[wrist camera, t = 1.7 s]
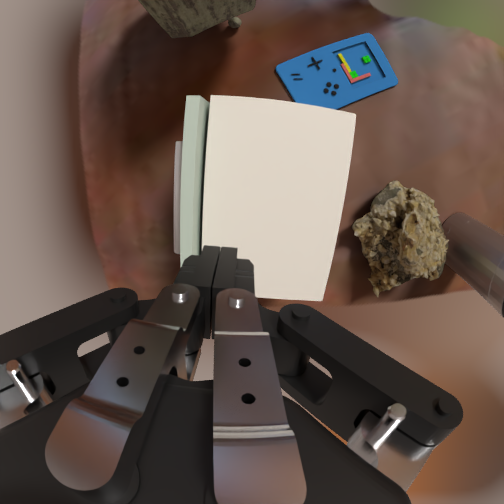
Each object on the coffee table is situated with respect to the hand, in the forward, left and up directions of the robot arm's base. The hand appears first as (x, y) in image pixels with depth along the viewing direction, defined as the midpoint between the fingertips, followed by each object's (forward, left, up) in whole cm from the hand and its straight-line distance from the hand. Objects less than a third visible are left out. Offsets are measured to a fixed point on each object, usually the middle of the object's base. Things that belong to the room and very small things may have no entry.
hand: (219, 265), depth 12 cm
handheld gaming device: (-11, -16, -24) cm, 31 cm away
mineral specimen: (-21, +4, -24) cm, 32 cm away
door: (+3, 0, -23) cm, 23 cm away
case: (-3, 0, -24) cm, 24 cm away
